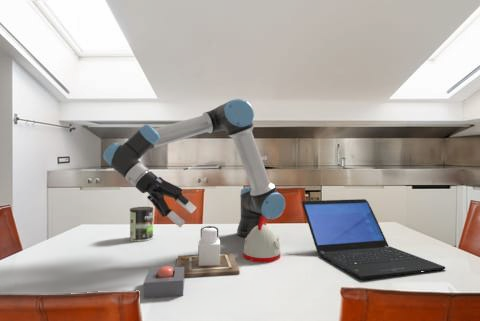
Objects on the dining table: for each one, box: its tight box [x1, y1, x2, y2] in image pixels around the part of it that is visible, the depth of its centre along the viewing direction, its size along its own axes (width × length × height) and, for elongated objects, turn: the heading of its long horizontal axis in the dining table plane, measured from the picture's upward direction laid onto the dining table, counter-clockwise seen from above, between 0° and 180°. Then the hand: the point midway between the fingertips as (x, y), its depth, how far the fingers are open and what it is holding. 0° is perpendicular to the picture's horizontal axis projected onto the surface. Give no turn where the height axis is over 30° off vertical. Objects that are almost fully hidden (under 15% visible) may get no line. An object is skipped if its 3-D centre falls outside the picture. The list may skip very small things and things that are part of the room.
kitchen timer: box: [242, 216, 281, 263], centre depth 107 cm, size 14×14×15 cm
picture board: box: [175, 252, 240, 278], centre depth 97 cm, size 20×18×1 cm
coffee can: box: [129, 206, 154, 242], centre depth 131 cm, size 10×10×14 cm
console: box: [143, 266, 185, 299], centre depth 79 cm, size 10×10×4 cm
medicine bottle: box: [197, 225, 221, 266], centre depth 97 cm, size 7×7×12 cm
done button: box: [158, 265, 173, 278], centre depth 79 cm, size 4×4×3 cm
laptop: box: [301, 198, 446, 281], centre depth 106 cm, size 33×38×19 cm
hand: (188, 218), depth 99 cm, fingers open, 13 cm apart
